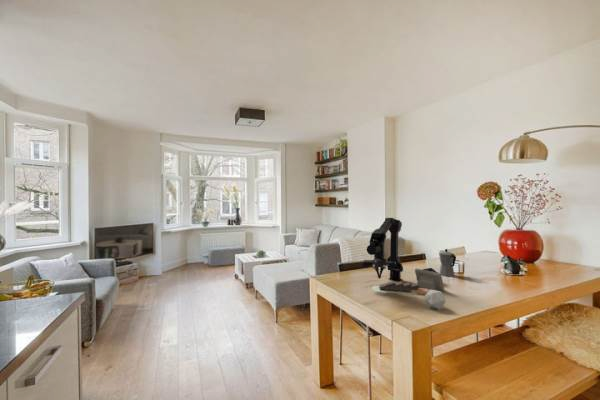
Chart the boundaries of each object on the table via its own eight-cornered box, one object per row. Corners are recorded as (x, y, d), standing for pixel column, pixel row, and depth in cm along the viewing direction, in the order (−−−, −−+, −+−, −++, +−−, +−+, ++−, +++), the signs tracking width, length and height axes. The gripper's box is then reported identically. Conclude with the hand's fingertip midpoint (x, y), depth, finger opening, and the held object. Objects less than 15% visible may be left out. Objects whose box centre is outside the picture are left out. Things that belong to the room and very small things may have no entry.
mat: (415, 289, 160) (414, 289, 160) (416, 295, 151) (416, 294, 151) (372, 286, 168) (372, 285, 168) (371, 291, 158) (371, 290, 158)
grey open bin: (416, 278, 184) (414, 264, 184) (438, 278, 180) (436, 263, 179) (417, 286, 172) (416, 270, 171) (441, 286, 167) (440, 270, 167)
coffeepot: (434, 272, 195) (434, 247, 196) (446, 271, 197) (445, 247, 197) (449, 278, 180) (449, 251, 180) (462, 277, 182) (461, 251, 182)
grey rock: (423, 304, 139) (419, 292, 135) (437, 295, 140) (433, 282, 136) (435, 316, 132) (431, 303, 127) (450, 306, 132) (447, 293, 128)
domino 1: (380, 287, 164) (395, 283, 161) (380, 290, 159) (395, 285, 157) (379, 285, 164) (393, 280, 161) (379, 287, 159) (394, 283, 157)
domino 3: (395, 288, 161) (410, 284, 159) (395, 291, 156) (411, 287, 154) (394, 286, 161) (409, 281, 159) (394, 288, 157) (410, 284, 154)
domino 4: (403, 289, 160) (418, 285, 157) (403, 292, 155) (419, 287, 152) (402, 286, 160) (417, 282, 157) (402, 289, 155) (418, 285, 153)
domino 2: (388, 288, 163) (402, 283, 160) (388, 290, 158) (403, 286, 155) (387, 285, 163) (401, 281, 160) (386, 288, 158) (402, 283, 155)
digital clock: (446, 291, 157) (445, 272, 157) (435, 293, 153) (434, 274, 153) (422, 283, 171) (422, 266, 171) (412, 285, 168) (412, 268, 168)
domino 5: (411, 290, 158) (428, 291, 156) (411, 292, 154) (429, 294, 151) (411, 287, 158) (427, 288, 156) (411, 290, 154) (429, 291, 151)
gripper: (361, 254, 157) (362, 281, 157) (395, 255, 151) (396, 283, 151) (363, 250, 168) (363, 275, 168) (395, 252, 162) (396, 278, 162)
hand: (379, 278), depth 162 cm, fingers closed
